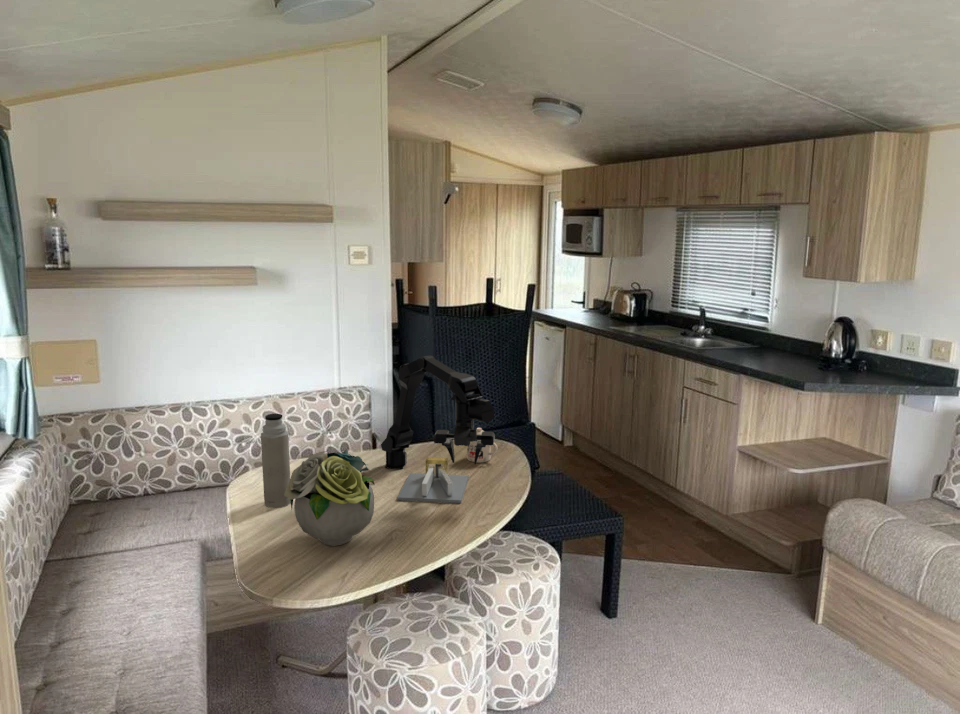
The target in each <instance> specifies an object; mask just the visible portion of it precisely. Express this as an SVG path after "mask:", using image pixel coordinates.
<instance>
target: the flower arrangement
mask: <svg viewBox="0 0 960 714" xmlns="http://www.w3.org/2000/svg"><path fill="white" fill-rule="evenodd" d="M364 466H365V467H364ZM368 466H369V465H368V464H366V462H365V461H363V459H362V458H361V456H359V455H352V454H349V451H348V450H347V449H345V450H344V451H343V450H342V451H341V452H328V450H324V451H319V452H318V451H317V452H316V453H311V454H310V455H309V457H308V458H306V460H302V461H301V464H300V465H299V466H298V467H296V468H295V469H294V470H293V471H292V473H291V474H290V481H289V484H288V486H287V488H286V491H285V494H284V496H286V497H289V498H290V502H291V503H290V509H291V510H290V511H291V512H292V511H293V507H294V517H295V519H296V522H297V523H298V525H299V527H300V529H301V530H302V532H304V533H306V534H307V535H309V536H311V537H313V538H315V539H318V540H319V541H320V542H321V543H322V544H323V545H326V546H331V547H332V546H333V547H334V546H335V547H337V546H341V545H344V544H347V543H349V542H350V541H351V540H353V537H354V536H356V535H358V534H360V533H361V532H362V531H363V530H364V529H366V527H368V525H369V524H371V522H372V519H373V516H374V512H375V494H374V490H373V486H375V481H374V479H373V478H372V477H369V476H365V475H362V472H367V471H369V470H370V469H369V467H368ZM362 467H363V468H362ZM361 468H362V469H361ZM370 483H371V484H372V485H373V486H371V484H370ZM294 500H295V501H294ZM293 505H294V506H293Z"/></svg>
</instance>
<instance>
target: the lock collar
mask: <svg viewBox="0 0 960 714" xmlns="http://www.w3.org/2000/svg"><path fill="white" fill-rule="evenodd" d="M435 464H441V465H444V466H443V468H444V469H445V471H446V473H447V475H449V473H448V457H447V458H446V457H429V456H427V457H426V458H425V474H427V472H428V469H429V467H430V465H435Z"/></svg>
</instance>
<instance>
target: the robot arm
mask: <svg viewBox="0 0 960 714" xmlns="http://www.w3.org/2000/svg"><path fill="white" fill-rule="evenodd" d="M426 373H429V374H431V375H432V376H434V377H436V378H437V379H438V380H440V381H442V382H444V384H446V385H447V386H448V389H449V391H450V392H452V393H453V394H454V395H453V396H451V397H450V401H453V402H455V425H454V426H455V427H454V429H453V433H450V431H449V429H437V430H436V431H435V433H434V435H433V443H434V444H441V446H443V447H445V448H446V449H447V451H448V454H449V457H450V459H451V463H452V464H455V460H456V459H455V458H456V457H455V448H454V446H456V447H459V446H465V447H467V446H469V445H470V442H473V441H477V445H476V453H475V460H474V461H475V462H474V465H476V464H477V459H478V456H479V453H480V451H481V449H482V447H486V445H491V446H494V443H495V440H496V439H495V438H496V437H495V436H496V435H495V433H494V431H485V430H483V431H482V435H477V431H476V429H474V428H475V427H474V426H475V425H474V424H475V423H474V420H475V421H479V422H483V423H486V424H488V423H490V422H491V421H492V420H493V419H494V417H495V413H496V412H495V411H496V410H495V409H494V408H495V407H494V405H493V404H491V401H490V400H489V399H484V398H485V396H484V394H483V392H482V390H481V387H480V386H479V384H478V382H477V378H475V377H474V376H473V375H471V374H468V373H465V372H464V373H463V372H458V371H456V370H454V369H453V368H451V367H450V366H448V365H446V364H444V363H443V362H441V361H439V360H438V359H436V358H435V357H434V356H433V355H425V356H421V357H419V358H417V359H416V360H413V361H411V362H409V363H404V364H401V365H400V367H399V369H398V381H399V384H400V385H401V388H400V392H399V399H398V402H397V403H398V404H397V408H396V414H395V420H394V422H393V424H392V425H391V426H390V428H388V432H387V435H386V437H385V439H384V440H383V441H382V443H381V444H380V446H381V450H382V451H383V452H385V466H384V469H399V470H400V469H401V470H402V469H404V468H405V466H406V465H407V460H408V459H407V455H408V454H407V452H406V449H408V448H409V447H410V444H411V442H412V441H413V435H414V430H412V428H411V427H410V422H411V420H410V419H411V415H412V411H413V406H414V400H415V395H416V391H417V388H418V387H419V386H420V384H422V382H423V380H424V377H425V374H426Z"/></svg>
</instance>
